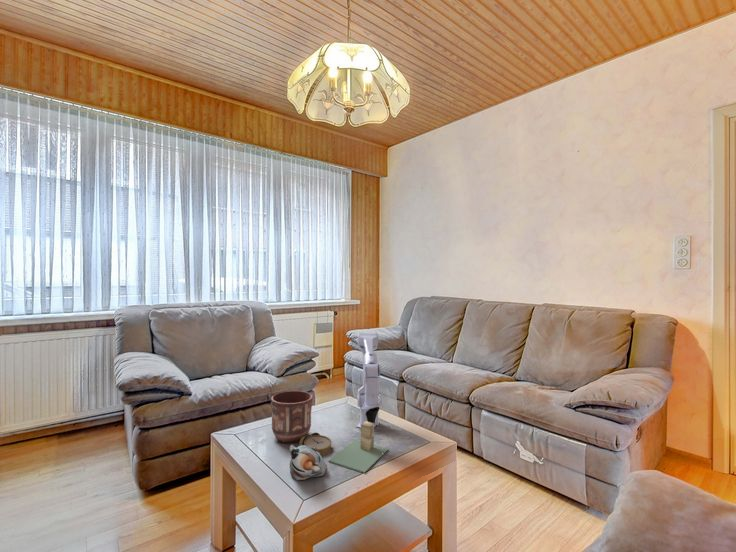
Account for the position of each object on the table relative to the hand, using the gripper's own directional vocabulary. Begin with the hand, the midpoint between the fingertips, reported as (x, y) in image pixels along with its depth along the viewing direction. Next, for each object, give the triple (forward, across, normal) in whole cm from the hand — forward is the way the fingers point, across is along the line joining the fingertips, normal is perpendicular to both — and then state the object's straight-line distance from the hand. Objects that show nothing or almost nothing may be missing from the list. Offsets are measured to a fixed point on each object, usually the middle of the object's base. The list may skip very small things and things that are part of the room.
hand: (371, 424), depth 151 cm
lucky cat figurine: (+9, -30, +9) cm, 33 cm away
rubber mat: (+9, -9, 0) cm, 13 cm away
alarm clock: (+9, -13, +19) cm, 25 cm away
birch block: (+8, -3, 0) cm, 9 cm away
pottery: (+9, -10, +34) cm, 37 cm away
